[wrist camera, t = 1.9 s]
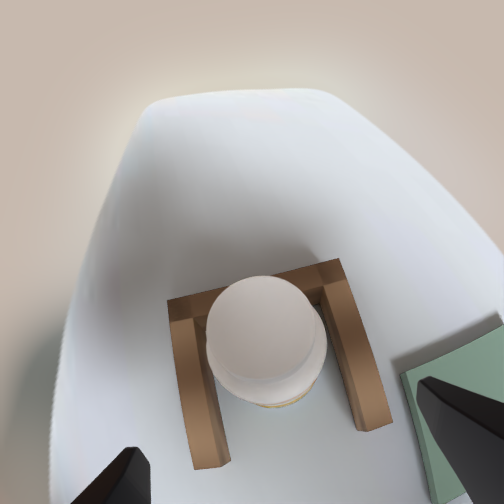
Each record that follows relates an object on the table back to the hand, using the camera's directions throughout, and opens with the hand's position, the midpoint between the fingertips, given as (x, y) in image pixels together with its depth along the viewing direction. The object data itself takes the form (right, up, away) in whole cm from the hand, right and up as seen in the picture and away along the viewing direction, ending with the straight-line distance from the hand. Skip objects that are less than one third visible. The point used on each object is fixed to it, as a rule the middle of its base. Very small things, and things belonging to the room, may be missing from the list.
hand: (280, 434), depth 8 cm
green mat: (+15, -5, +7) cm, 17 cm away
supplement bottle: (+1, -2, +11) cm, 12 cm away
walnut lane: (+1, -2, +11) cm, 11 cm away
